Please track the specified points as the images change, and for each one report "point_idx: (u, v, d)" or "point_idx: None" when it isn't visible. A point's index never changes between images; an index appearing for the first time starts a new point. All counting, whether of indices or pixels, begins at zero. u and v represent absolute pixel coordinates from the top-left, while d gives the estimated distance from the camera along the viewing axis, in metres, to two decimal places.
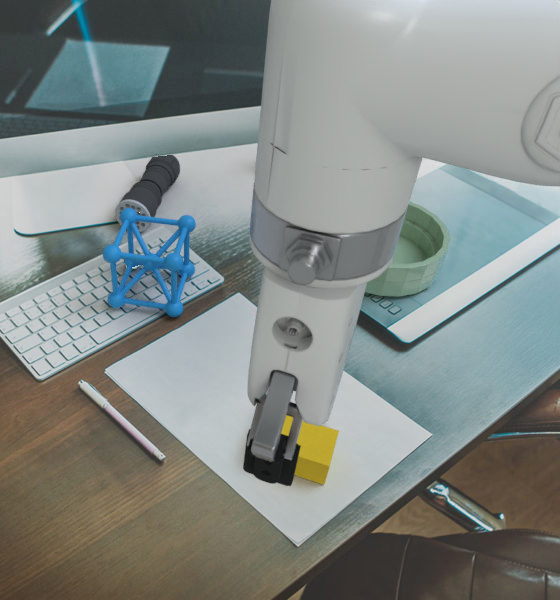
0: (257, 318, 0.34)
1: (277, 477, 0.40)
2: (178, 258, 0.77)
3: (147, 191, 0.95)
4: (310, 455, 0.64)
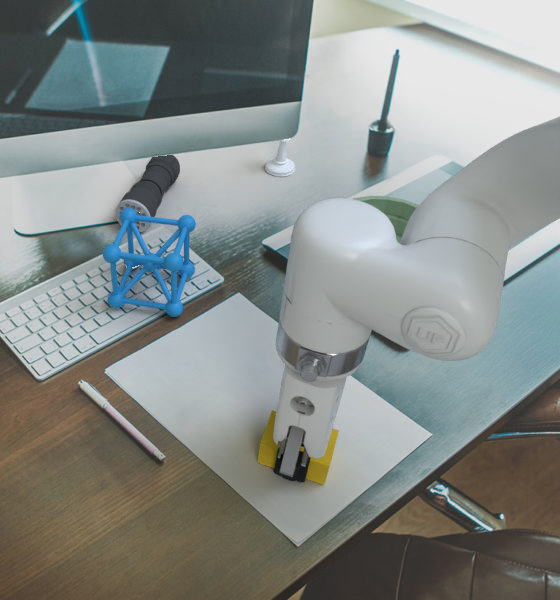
0: (281, 395, 0.56)
1: (295, 477, 0.64)
2: (178, 258, 0.77)
3: (148, 191, 0.95)
4: None
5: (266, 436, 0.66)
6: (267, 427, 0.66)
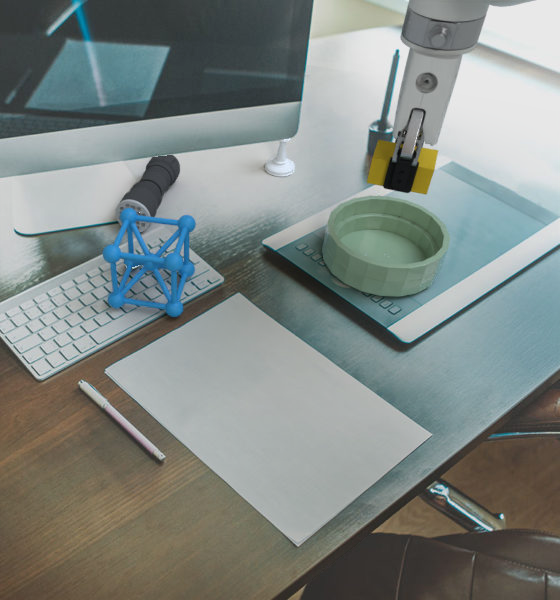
0: (407, 78, 0.67)
1: (405, 183, 0.75)
2: (178, 258, 0.77)
3: (148, 191, 0.95)
4: None
5: (377, 154, 0.77)
6: (376, 149, 0.78)
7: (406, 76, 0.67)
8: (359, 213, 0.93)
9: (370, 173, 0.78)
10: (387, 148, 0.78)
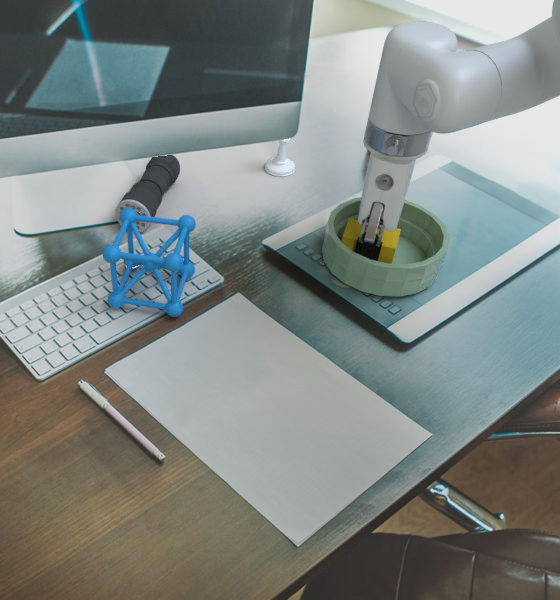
0: (368, 177, 0.78)
1: None
2: (178, 258, 0.77)
3: (148, 191, 0.95)
4: None
5: (346, 232, 0.88)
6: (347, 227, 0.89)
7: (367, 175, 0.78)
8: None
9: None
10: (356, 227, 0.89)
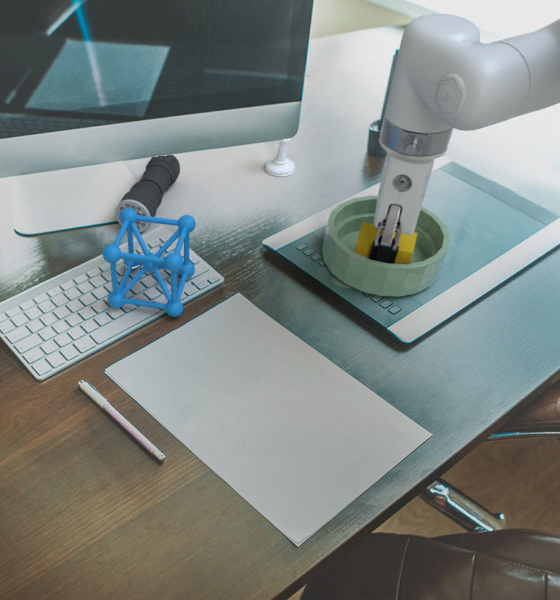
0: (384, 178, 0.74)
1: None
2: (178, 258, 0.77)
3: (148, 191, 0.95)
4: None
5: (361, 236, 0.84)
6: (361, 231, 0.85)
7: (384, 176, 0.74)
8: (359, 213, 0.93)
9: None
10: (370, 230, 0.85)
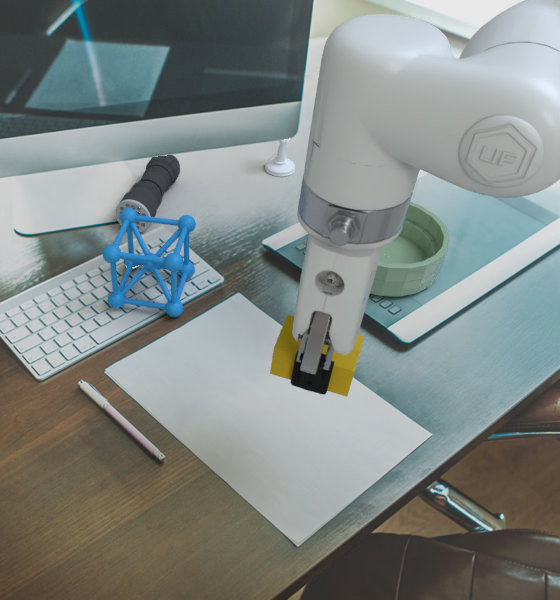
0: (303, 272, 0.47)
1: (316, 386, 0.56)
2: (178, 258, 0.77)
3: (148, 191, 0.95)
4: (332, 360, 0.55)
5: (281, 340, 0.57)
6: (282, 331, 0.58)
7: (303, 269, 0.47)
8: None
9: (273, 364, 0.58)
10: None
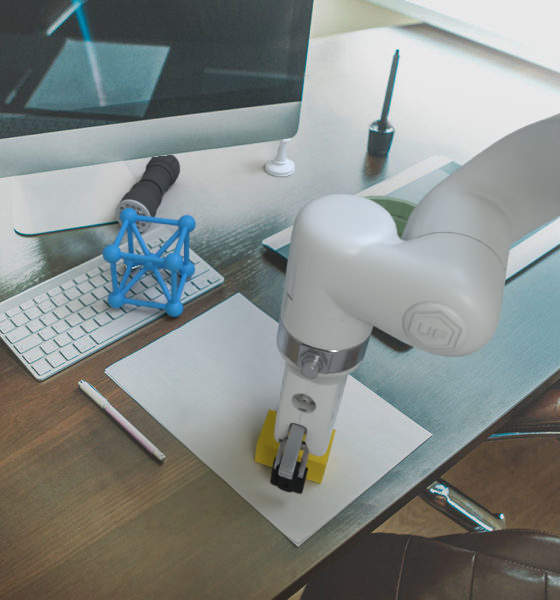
0: (282, 392, 0.55)
1: (292, 488, 0.62)
2: (178, 258, 0.77)
3: (148, 191, 0.95)
4: None
5: (263, 435, 0.66)
6: (264, 426, 0.67)
7: (281, 389, 0.56)
8: None
9: (257, 454, 0.67)
10: None
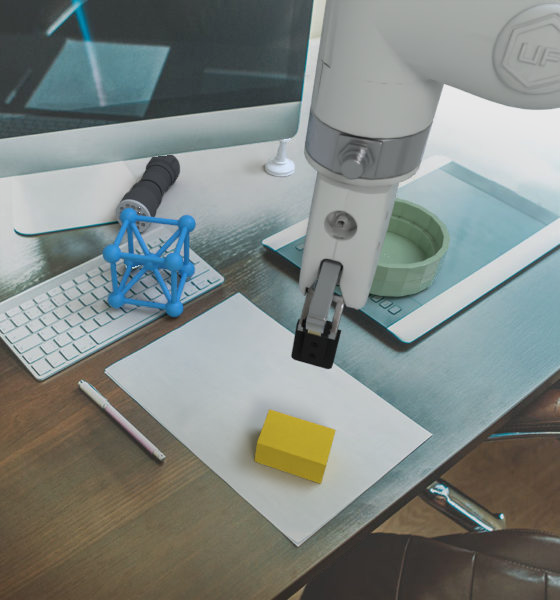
0: (311, 215, 0.43)
1: (321, 359, 0.49)
2: (178, 258, 0.77)
3: (148, 191, 0.95)
4: (307, 454, 0.64)
5: (263, 435, 0.66)
6: (264, 426, 0.67)
7: (311, 212, 0.43)
8: None
9: (257, 454, 0.67)
10: (277, 425, 0.67)
